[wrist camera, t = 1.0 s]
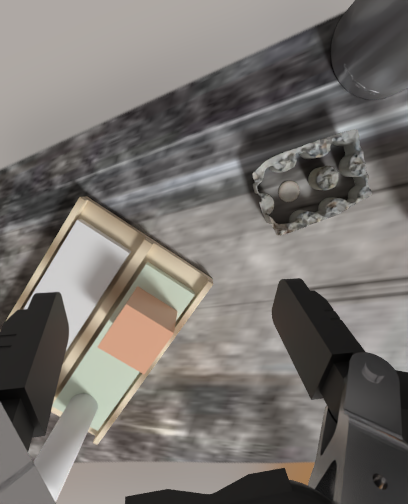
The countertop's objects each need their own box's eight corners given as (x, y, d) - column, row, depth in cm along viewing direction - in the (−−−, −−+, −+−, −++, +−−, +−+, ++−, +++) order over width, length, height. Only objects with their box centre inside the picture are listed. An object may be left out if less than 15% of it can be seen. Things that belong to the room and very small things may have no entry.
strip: (81, 218, 31) (18, 235, 20) (131, 251, 32) (97, 283, 21) (-8, 365, 34) (-103, 447, 23) (40, 391, 35) (-31, 482, 24)
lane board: (86, 196, 32) (79, 197, 30) (212, 278, 34) (213, 284, 32) (-16, 367, 36) (-29, 378, 34) (102, 431, 38) (97, 445, 36)
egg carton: (265, 233, 33) (274, 240, 29) (244, 166, 32) (251, 164, 28) (359, 201, 33) (382, 203, 29) (343, 131, 31) (364, 123, 27)
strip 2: (147, 261, 32) (122, 299, 21) (194, 291, 33) (193, 342, 22) (55, 399, 35) (-8, 493, 24) (100, 424, 36) (59, 525, 25)
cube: (137, 285, 31) (126, 303, 27) (177, 311, 32) (173, 333, 27) (112, 322, 32) (97, 347, 27) (152, 346, 33) (144, 374, 28)
